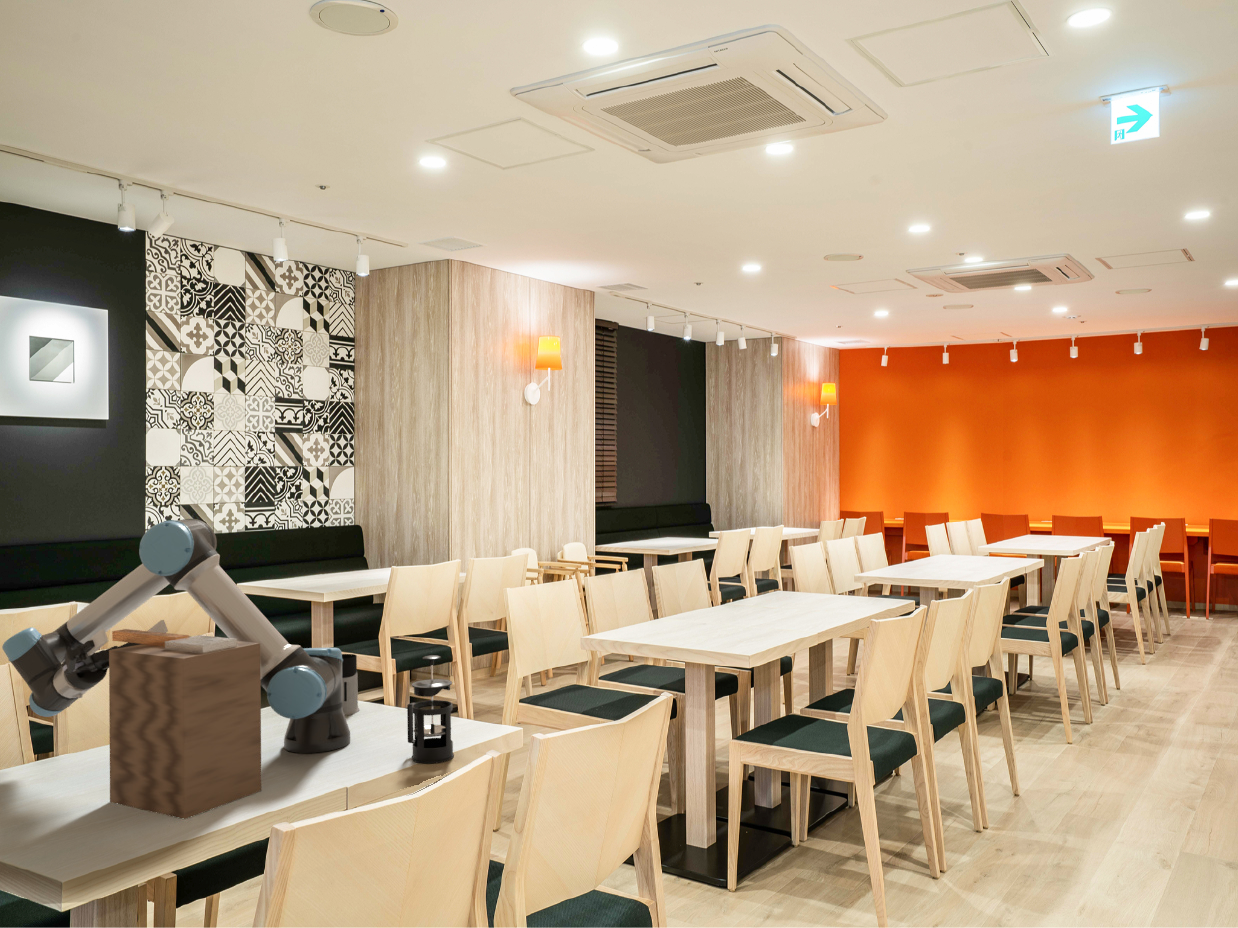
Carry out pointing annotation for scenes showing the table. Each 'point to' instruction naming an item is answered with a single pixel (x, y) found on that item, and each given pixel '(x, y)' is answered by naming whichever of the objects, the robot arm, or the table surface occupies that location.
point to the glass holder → (349, 684)
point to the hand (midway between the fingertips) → (135, 630)
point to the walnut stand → (184, 727)
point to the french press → (432, 747)
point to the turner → (175, 641)
